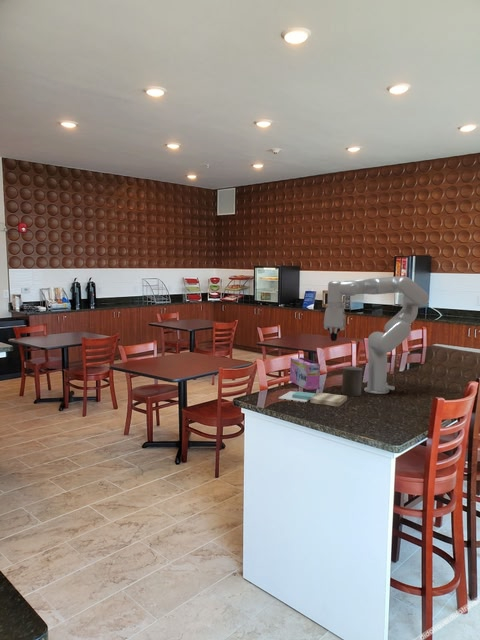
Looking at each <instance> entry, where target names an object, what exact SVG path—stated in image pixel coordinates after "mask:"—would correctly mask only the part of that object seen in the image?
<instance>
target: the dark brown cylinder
mask: <svg viewBox="0 0 480 640" xmlns="http://www.w3.org/2000/svg"><path fill="white" fill-rule="evenodd" d="M362 378H363V367H358V366H353V365H351V366H343V368H342V381H341V394H342V395H343V396H347V397H360V396H361V395H362V380H363V379H362Z"/></svg>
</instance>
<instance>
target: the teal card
mask: <svg viewBox="0 0 480 640" xmlns="http://www.w3.org/2000/svg"><path fill="white" fill-rule="evenodd" d="M295 392H296V393H294V394H293V395H292V398H297V399H305V400H309V401H310V398H312V397H313V396H315V395H316V394H317V393H314V392H306V391H305V392H304V391H295Z"/></svg>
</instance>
